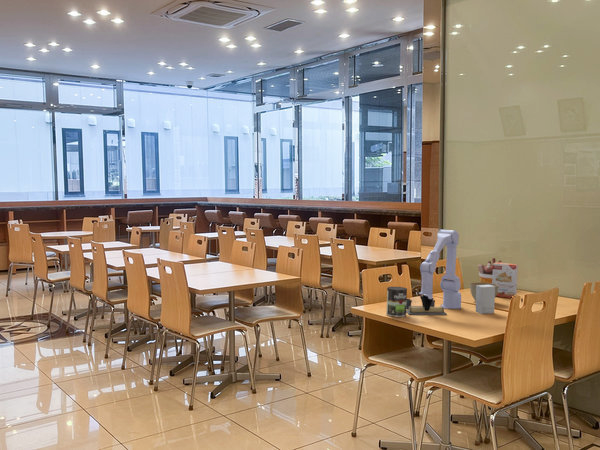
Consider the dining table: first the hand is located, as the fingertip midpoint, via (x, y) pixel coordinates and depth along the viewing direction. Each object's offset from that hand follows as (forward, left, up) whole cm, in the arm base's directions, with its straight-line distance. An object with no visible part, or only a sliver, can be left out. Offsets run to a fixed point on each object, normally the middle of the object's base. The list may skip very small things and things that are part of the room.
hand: (426, 309), depth 300 cm
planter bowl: (-43, -30, -2) cm, 52 cm away
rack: (0, -12, -2) cm, 12 cm away
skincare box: (-33, -3, -2) cm, 33 cm away
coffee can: (+17, +4, -2) cm, 18 cm away
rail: (0, 0, -1) cm, 1 cm away
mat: (0, 0, -2) cm, 2 cm away
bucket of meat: (-68, -80, -2) cm, 105 cm away
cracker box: (-64, -50, -2) cm, 81 cm away
